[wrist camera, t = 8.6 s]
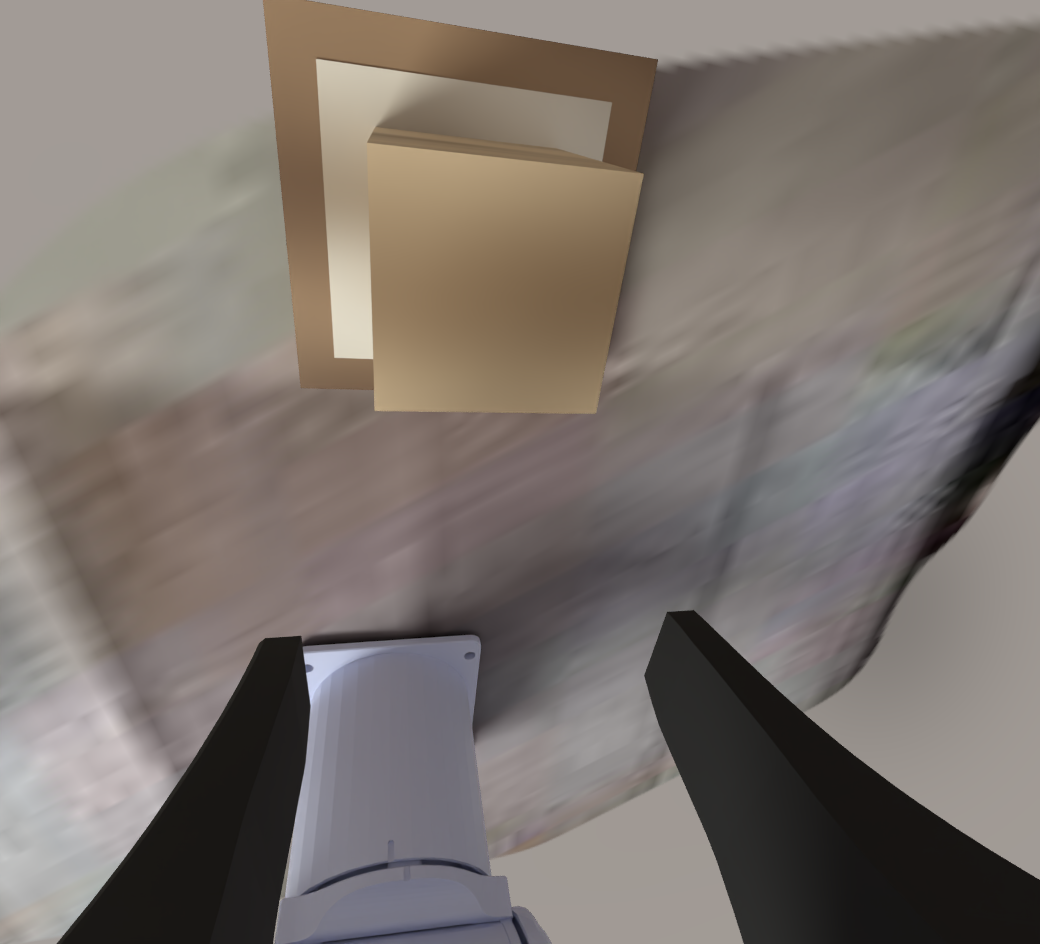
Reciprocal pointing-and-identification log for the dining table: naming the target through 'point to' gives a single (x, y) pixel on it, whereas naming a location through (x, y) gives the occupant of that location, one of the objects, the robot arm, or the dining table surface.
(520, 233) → the oak block
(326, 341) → the picture frame
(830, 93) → the dining table surface
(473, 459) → the dining table surface
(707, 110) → the dining table surface
